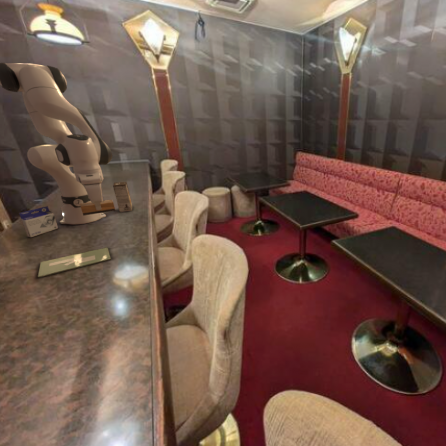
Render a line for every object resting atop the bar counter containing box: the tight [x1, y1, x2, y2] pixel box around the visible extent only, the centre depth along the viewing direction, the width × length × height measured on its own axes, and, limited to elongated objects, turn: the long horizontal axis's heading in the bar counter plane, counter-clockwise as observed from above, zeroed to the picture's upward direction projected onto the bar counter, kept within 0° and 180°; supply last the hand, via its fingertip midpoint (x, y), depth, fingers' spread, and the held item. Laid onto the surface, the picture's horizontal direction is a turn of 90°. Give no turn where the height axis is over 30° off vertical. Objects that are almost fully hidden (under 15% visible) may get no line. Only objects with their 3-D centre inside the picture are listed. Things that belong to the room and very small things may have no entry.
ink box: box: [18, 205, 59, 238], centre depth 114 cm, size 12×2×12 cm, turn 168°
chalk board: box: [37, 247, 112, 278], centre depth 93 cm, size 12×20×1 cm, turn 131°
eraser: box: [80, 199, 116, 216], centre depth 107 cm, size 5×11×4 cm, turn 131°
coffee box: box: [112, 181, 133, 213], centre depth 147 cm, size 9×6×16 cm
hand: (98, 207), depth 107 cm, fingers closed on eraser, 5 cm apart
